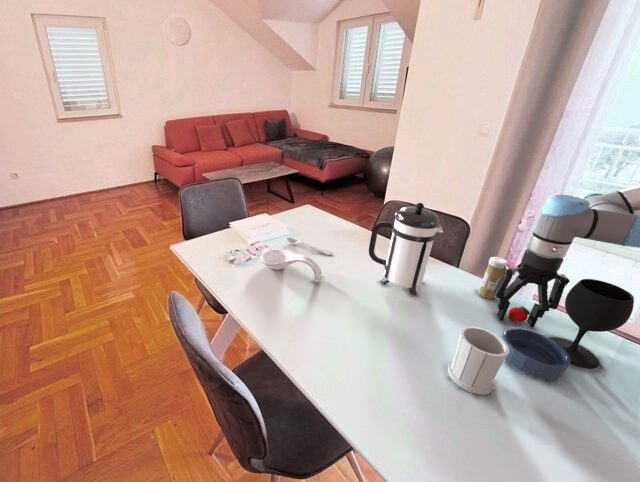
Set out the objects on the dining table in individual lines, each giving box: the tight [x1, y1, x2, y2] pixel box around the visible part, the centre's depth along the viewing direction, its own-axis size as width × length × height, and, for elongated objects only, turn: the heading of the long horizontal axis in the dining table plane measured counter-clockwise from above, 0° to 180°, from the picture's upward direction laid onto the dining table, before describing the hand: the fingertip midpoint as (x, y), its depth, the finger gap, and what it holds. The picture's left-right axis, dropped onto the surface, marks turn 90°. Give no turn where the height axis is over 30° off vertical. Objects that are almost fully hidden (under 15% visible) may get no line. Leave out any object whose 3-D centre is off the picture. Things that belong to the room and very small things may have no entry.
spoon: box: [285, 237, 332, 256], centre depth 133 cm, size 4×21×2 cm, turn 54°
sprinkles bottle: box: [477, 256, 509, 300], centre depth 101 cm, size 5×5×13 cm
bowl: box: [501, 327, 571, 381], centre depth 78 cm, size 12×12×5 cm
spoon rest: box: [259, 249, 323, 283], centre depth 116 cm, size 24×12×7 cm, turn 56°
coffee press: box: [368, 202, 444, 296], centre depth 104 cm, size 17×16×30 cm
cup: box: [447, 326, 509, 395], centre depth 72 cm, size 10×9×12 cm
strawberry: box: [507, 305, 531, 323], centre depth 92 cm, size 4×4×5 cm
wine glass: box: [548, 278, 635, 370], centre depth 77 cm, size 10×10×20 cm
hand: (514, 321), depth 92 cm, fingers open, 6 cm apart
